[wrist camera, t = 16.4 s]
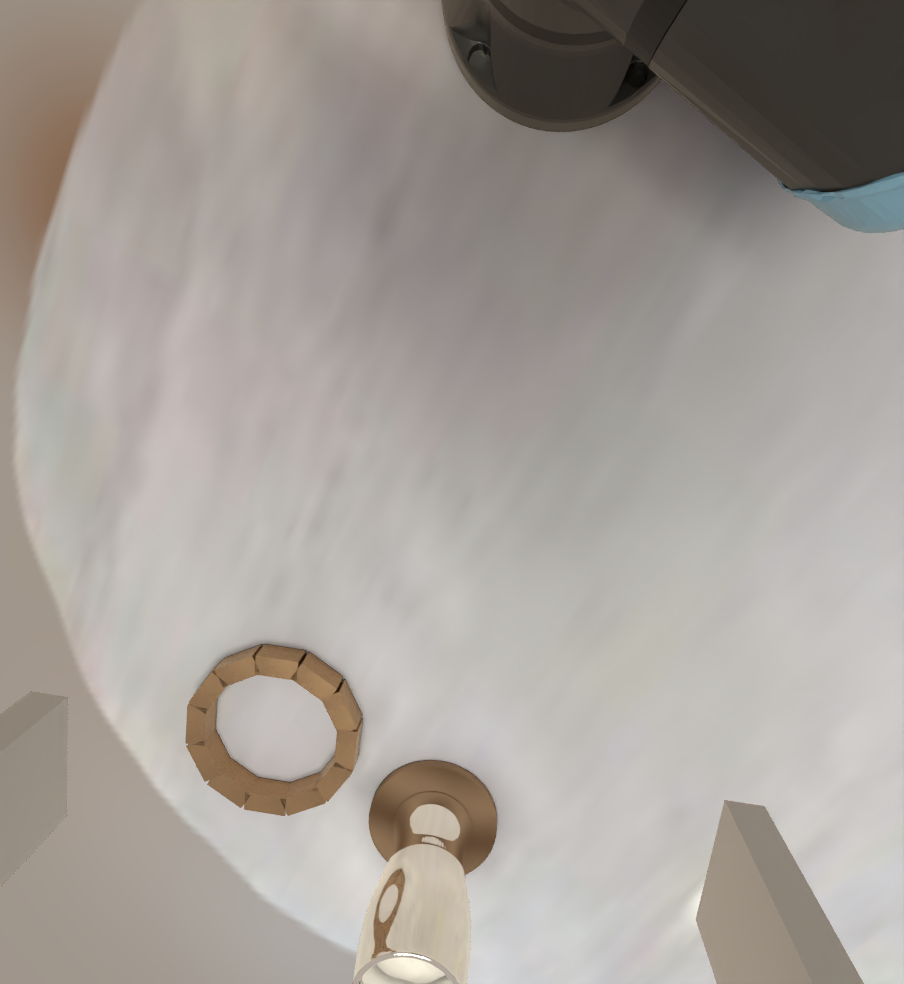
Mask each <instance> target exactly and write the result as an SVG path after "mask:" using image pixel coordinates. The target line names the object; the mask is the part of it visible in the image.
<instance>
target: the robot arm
mask: <svg viewBox="0 0 904 984" xmlns="http://www.w3.org/2000/svg"><path fill="white" fill-rule="evenodd" d="M442 7H443V14H444V20H445V25H446V30H447V35H448V39H449V43H450V46H451V49H452V52H453V55H454V57H455V59H456V62H457V64H458V66H459V68H460V70H461V72H462V73H463V75H464V77H465V78H466V80H467V81H468V83H469V84H470V85H471V87H472V88H473V89H474V90H475V92H476V93H477V94H478V95H479V96H480V97H481V98H482V99H483V100H484V101H485V102H486V103H487V104H488V105H489V106H490V107H492V108H493V109H494V110H496V111H497V112H499V113H500V114H502V115H503V116H505V117H507V118H509V119H510V120H512V121H514V122H517V123H519V124H521V125H524V126H527V127H531V128H535V129H539V130H545V131H555V132H566V131H576V130H582V129H587V128H591V127H594V126H597V125H600V124H603V123H605V122H608V121H610V120H612V119H614V118H616V117H618V116H620V115H621V114H623V113H625V112H626V111H628V110H629V109H631V108H632V107H633V106H635V105H636V104H637V103H638V102H640V101H641V100H642V99H643V98H644V97H645V96H646V95H647V94H648V93H649V92H650V91H651V90H652V89H653V88H654V87H655V86H656V85H657V83H658V82H659V81H660V80H661V79H662V80H663V81H664V82H666V83H667V84H668V85H669V86H670V87H671V88H673V89H674V90H675V91H676V92H677V93H678V94H680V95H681V96H682V97H683V98H684V99H685V100H687V101H688V102H689V103H690V104H691V105H692V106H694V107H695V108H696V109H697V110H698V111H699V112H701V113H702V114H703V115H704V116H705V117H706V118H708V119H709V120H710V121H711V122H712V123H713V124H715V125H716V126H717V127H718V128H719V129H720V130H722V131H723V132H724V133H725V134H726V135H727V136H729V137H730V138H731V139H732V140H733V141H734V142H736V143H737V144H738V145H739V146H740V147H741V148H743V149H744V150H745V151H746V152H747V153H748V154H750V155H751V156H752V157H753V158H754V159H755V160H756V161H758V162H759V163H760V164H761V165H762V166H763V167H765V168H766V169H767V170H768V171H769V172H770V173H772V174H773V175H774V176H775V177H776V178H777V179H778V182H779V183H780V185H781V186H782V187H783V188H784V189H785V190H786V191H787V192H791V193H792V194H793V195H794V196H795V197H798V198H801V199H804V200H808V201H809V202H811V203H812V204H813V205H815V206H816V207H817V208H819V209H820V210H821V211H823V212H824V213H825V214H827V215H828V216H829V217H831V218H832V219H833V220H835V221H836V222H837V223H839V224H840V225H842V226H844V227H847V228H849V229H852V230H855V231H859V232H865V233H885V232H893V231H897V230H902V229H904V0H442ZM67 736H68V697H64V696H57V695H51V694H45V693H38V692H32V691H31V692H30V693H28V694H27V695H26V696H24V697H23V698H22V699H20V700H19V701H17V702H16V703H15V704H13V705H12V706H11V707H9V708H8V709H7V710H5V711H4V712H3V713H1V714H0V888H1V887H2V886H3V885H4V884H5V883H6V882H7V881H8V880H9V878H10V877H11V876H12V875H13V874H14V873H15V872H16V871H17V870H18V869H19V868H20V866H21V865H22V864H23V863H24V862H25V861H26V860H27V859H28V858H29V857H30V855H32V853H33V852H34V851H35V850H36V849H37V848H38V847H39V846H40V845H41V844H42V843H43V841H44V840H45V839H46V838H47V837H48V836H49V835H50V834H51V832H53V831H54V830H55V828H56V827H57V826H58V825H59V824H60V823H61V822H62V821H63V820H64V818H66V816H67ZM696 922H697V925H698V928H699V931H700V934H701V937H702V940H703V943H704V946H705V949H706V952H707V955H708V958H709V961H710V964H711V967H712V970H713V973H714V976H715V979H716V982H717V984H864V983H863V981H862V980H861V978H860V976H859V974H858V972H857V971H856V969H855V967H854V965H853V963H852V962H851V960H850V958H849V956H848V954H847V953H846V951H845V949H844V947H843V946H842V944H841V942H840V940H839V938H838V937H837V935H836V933H835V931H834V929H833V928H832V926H831V924H830V922H829V921H828V919H827V917H826V915H825V913H824V912H823V910H822V908H821V906H820V904H819V903H818V901H817V899H816V897H815V895H814V894H813V892H812V890H811V888H810V887H809V885H808V883H807V881H806V879H805V878H804V876H803V874H802V872H801V870H800V869H799V867H798V865H797V863H796V861H795V860H794V858H793V856H792V854H791V853H790V851H789V849H788V847H787V845H786V844H785V842H784V840H783V838H782V836H781V835H780V833H779V831H778V829H777V828H776V826H775V824H774V822H773V820H772V819H771V817H770V815H769V813H768V811H767V810H766V808H765V806H759V805H753V804H746V803H740V802H734V801H727V800H725V801H724V805H723V809H722V813H721V817H720V821H719V826H718V830H717V834H716V838H715V842H714V846H713V850H712V854H711V859H710V863H709V867H708V871H707V875H706V879H705V883H704V888H703V892H702V896H701V900H700V904H699V908H698V912H697V917H696Z"/></svg>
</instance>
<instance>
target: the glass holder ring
mask: <svg viewBox="0 0 904 984" xmlns="http://www.w3.org/2000/svg"><path fill="white" fill-rule="evenodd" d="M305 654H306V650H300V649H294V648H287V647H281V646H274V645H268V644H264V646H263V647H262V645H258V646H256V647H253V648H250V649H248V650H245V651H242V652H240V653H237V654H234V655H232V656H229V657H226V658H224V659H223V660H222V661H221V662H220V663H219V664H218V665H217V666H216V667H215V669H214V670H213V671H212V672H211V673H210V675H209V676H208V677H207V679H206V680H205V681H204V683H203V684H202V685H201V687H200V688H199V689H198V691H197V692H196V693H195V695H194V696H193V697H192V699H191V700H190V701H189V704H188V707H187V726H186V743H187V744H188V745H187V746H186V747H187V749H188V751H189V752H190V754H191V756H192V758H193V760H194V762H195V764H196V766H197V768H198V770H199V771H200V773H201V775H202V777H203V779H204V781H208V780H210V781H209V782H208V785H209V786H210V787H212V788H213V789H215V790H216V791H217V792H219V793H220V794H222V795H223V796H225V797H226V798H227V799H229V800H230V801H232V802H233V803H234V804H236V805H237V806H239V807H240V808H241V807H242V806H243V805H244V804H245V805H244V809H245V810H251V811H257V812H263V813H269V814H275V815H281V816H285V814H286V813H287V815H288V816H289V815H292V814H295V813H298V812H301V811H304V810H307V809H310V808H313V807H316V806H319V805H322V804H325V802H326V801H329V800H330V798H331V797H332V796H333V795H334V794H335V793H336V791H337V790H338V789H339V788H340V787H341V785H342V784H343V783H344V782H345V781H346V779H347V778H348V777H349V776H350V775H351V774H352V771H353V769H354V766H355V764H356V761H357V758H358V755H359V746H360V737H361V729H362V720H363V718H361V717H362V714H361V712H360V709H359V707H358V705H357V703H356V701H355V699H354V697H353V695H352V692H351V690H350V688H349V686H348V684H347V682H346V680H345V679H344V680H342V677H343V676H342V675H340V674H339V673H338V672H336V671H335V670H333V669H332V668H331V667H329V666H328V665H327V664H325V663H324V662H323V661H321V660H320V659H318V658H317V657H316V656H314V655H313V654H312V653H310V652H309V653H308V654H307V655H306V656H305ZM255 675H263V676H270V677H276V678H283V679H289V680H294V681H295V682H296V683H298V684H299V685H301V686H302V687H303V688H305V689H306V690H308V691H309V692H310V693H312V694H313V695H314V696H316V697H317V698H319V699H320V700H321V701H323V703H324V706H325V708H326V710H327V712H328V714H329V716H330V718H331V720H332V722H333V724H334V726H335V728H336V730H337V740H336V750H335V756H334V757H333V758H332V759H331V760H330V762H329V763H328V764H327V765H326V766H325V768H324V769H323V770H322V771H321V772H320V773H317V774H314V775H311V776H308V777H306V778H303V779H300V780H297V781H294V782H291V783H290V782H284V781H278V780H271V779H265V778H259V777H257V776H255V775H254V774H252V773H251V772H249V771H248V770H247V769H245V768H244V767H242V766H241V765H240V764H238V763H237V762H235V761H234V760H233V759H231V758H230V756H229V754H228V753H227V751H226V749H225V747H224V745H223V743H222V741H221V739H220V737H219V735H218V733H217V731H216V729H215V728H216V712H217V698H218V697H219V696H220V694H221V693H222V692H223V690H224V689H225V688H226V686H228V685H231V684H234V683H236V682H239V681H242V680H244V679H247V678H250V677H253V676H255Z"/></svg>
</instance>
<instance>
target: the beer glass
mask: <svg viewBox="0 0 904 984" xmlns="http://www.w3.org/2000/svg"><path fill="white" fill-rule="evenodd" d="M470 836H471V821H470V818H469V815H468V813H467V811H466V810H465V808H464V807H463V806H462V805H461V804H460V803H459V802H458V801H457V800H455V799H454V798H452V797H450V796H448V795H446V794H443V793H439V792H422V793H418V794H415V795H413V796H411V797H409V798H408V799H406V800H405V801H404V802H403V803H402V804H401V805H400V807H399V808H398V810H397V812H396V814H395V817H394V822H393V850H392V854H391V856H390V859H389V861H388V863H387V865H386V867H385V869H384V871H383V873H382V876H381V878H380V880H379V882H378V884H377V886H376V888H375V890H374V893H373V895H372V898H371V900H370V903H369V905H368V908H367V911H366V915H365V918H364V922H363V925H362V929H361V934H360V939H359V944H358V950H357V956H356V963H355V971H354V978H353V983H352V984H467V979H468V972H469V964H470V953H471V916H470V906H469V899H468V892H467V886H466V880H465V874H464V855H465V852H466V849H467V846H468V843H469V840H470Z"/></svg>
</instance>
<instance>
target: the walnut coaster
mask: <svg viewBox="0 0 904 984" xmlns="http://www.w3.org/2000/svg"><path fill="white" fill-rule="evenodd" d="M422 792H439V793H443V794H446V795H448V796H450V797H452V798H454V799H455V800H457V801H458V802H459V803H460V804H461V805H462V806H463V807H464V808H465V810H466V811H467V813H468V815H469V818H470V821H471V836H470V840H469V843H468V846H467V849H466V852H465V855H464V874H465V875H466V874H468V873H469V872H471V871H473V870H474V869H476V868H477V867H478V866H479V865H480V864H481V863H482V862H483V861H484V860H485V859H486V858H487V856H488V855H489V853H490V852H491V850H492V847H493V845H494V842H495V838H496V831H497V815H496V808H495V804H494V802H493V799H492V797H491V795H490V793H489V791H488V790H487V788H486V787H485V786H484V784H483V783H482V782H481V781H480V780H479V779H478V778H477V777H475V776H474V775H473V774H472V773H470V772H469V771H467V770H465V769H463V768H461V767H459V766H457V765H454V764H451V763H448V762H443V761H435V760H425V761H418V762H413V763H410V764H407V765H405V766H402V767H400V768H398V769H397V770H395V771H393V772H392V773H391V774H390V775H388V776H387V777H386V778H385V779H384V780H383V782H382V783H381V784H380V786H379V787H378V789H377V791H376V793H375V795H374V798H373V801H372V805H371V808H370V813H369V829H370V833H371V837H372V840H373V842H374V845H375V846H376V848H377V850H378V851H379V853H380V854H381V855H382V857H383V858H384V859H385V860H386V861H387V862H388V861H389V859H390V856H391V854H392V850H393V822H394V817H395V814H396V812H397V810H398V808H399V807H400V805H401V804H402V803H403V802H404V801H405V800H406V799H408V798H409V797H411V796H413V795H415V794H418V793H422Z"/></svg>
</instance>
